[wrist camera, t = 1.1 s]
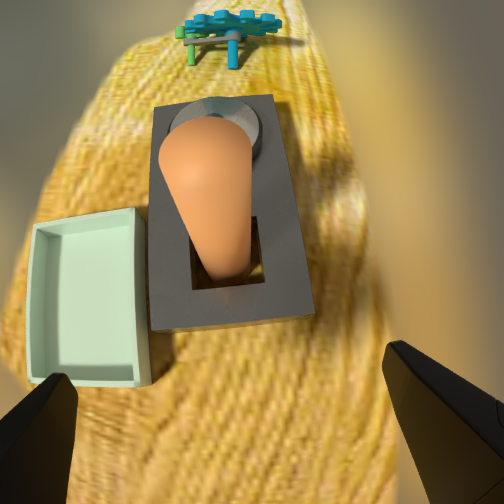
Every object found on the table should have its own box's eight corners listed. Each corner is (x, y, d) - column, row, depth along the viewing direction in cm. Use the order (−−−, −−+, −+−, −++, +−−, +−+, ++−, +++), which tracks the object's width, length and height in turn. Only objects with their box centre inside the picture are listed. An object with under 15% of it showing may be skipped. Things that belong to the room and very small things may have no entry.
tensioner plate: (308, 318, 22) (322, 307, 17) (161, 333, 21) (140, 326, 17) (270, 113, 27) (273, 76, 23) (160, 125, 27) (148, 90, 23)
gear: (285, 26, 30) (276, 0, 22) (286, 72, 33) (277, 60, 24) (193, 32, 32) (157, 14, 23) (193, 76, 35) (157, 69, 26)
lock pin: (253, 283, 22) (257, 185, 10) (206, 288, 22) (157, 197, 10) (247, 239, 23) (246, 112, 11) (203, 244, 23) (160, 123, 11)
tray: (152, 384, 20) (140, 387, 18) (46, 382, 20) (28, 382, 17) (145, 221, 24) (135, 206, 22) (48, 236, 24) (33, 224, 21)
